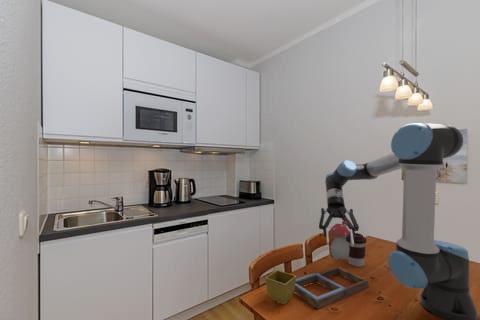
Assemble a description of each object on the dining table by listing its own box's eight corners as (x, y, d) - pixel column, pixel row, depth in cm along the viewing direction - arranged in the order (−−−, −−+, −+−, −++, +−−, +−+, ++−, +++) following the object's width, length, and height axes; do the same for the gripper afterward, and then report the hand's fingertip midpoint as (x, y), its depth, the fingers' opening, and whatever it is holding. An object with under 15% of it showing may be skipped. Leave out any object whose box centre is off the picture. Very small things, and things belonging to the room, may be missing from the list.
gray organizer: (368, 287, 98) (368, 280, 99) (317, 309, 85) (317, 300, 85) (338, 273, 112) (337, 267, 112) (289, 289, 98) (289, 282, 98)
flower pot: (277, 291, 97) (276, 269, 97) (297, 298, 92) (296, 275, 92) (265, 301, 90) (265, 277, 91) (286, 310, 85) (285, 284, 85)
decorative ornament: (348, 253, 105) (346, 219, 105) (354, 259, 98) (353, 223, 99) (326, 254, 105) (325, 219, 106) (331, 259, 99) (330, 223, 99)
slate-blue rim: (345, 289, 92) (345, 288, 92) (317, 301, 85) (317, 299, 85) (316, 273, 105) (316, 272, 105) (289, 282, 98) (289, 281, 98)
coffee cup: (371, 268, 117) (370, 237, 117) (350, 268, 117) (349, 237, 117) (361, 259, 127) (360, 231, 127) (342, 260, 127) (341, 231, 127)
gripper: (359, 205, 114) (367, 250, 98) (312, 204, 120) (313, 246, 105) (360, 195, 109) (370, 241, 93) (311, 195, 115) (312, 237, 100)
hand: (340, 244), depth 99 cm, fingers closed on decorative ornament, 9 cm apart
